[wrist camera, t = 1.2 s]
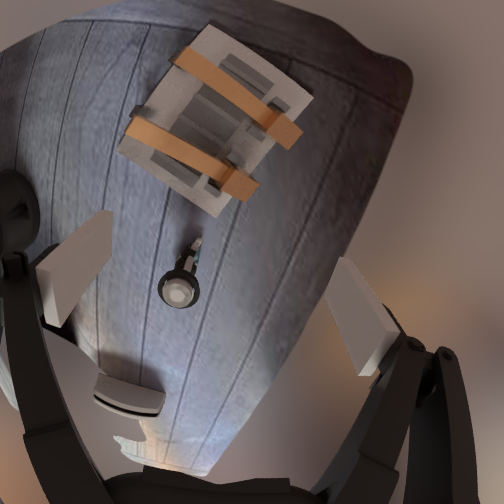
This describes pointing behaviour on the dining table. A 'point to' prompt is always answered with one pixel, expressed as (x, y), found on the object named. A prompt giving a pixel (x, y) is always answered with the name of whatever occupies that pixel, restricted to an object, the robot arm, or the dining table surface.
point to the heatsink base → (183, 95)
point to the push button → (182, 279)
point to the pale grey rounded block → (128, 398)
